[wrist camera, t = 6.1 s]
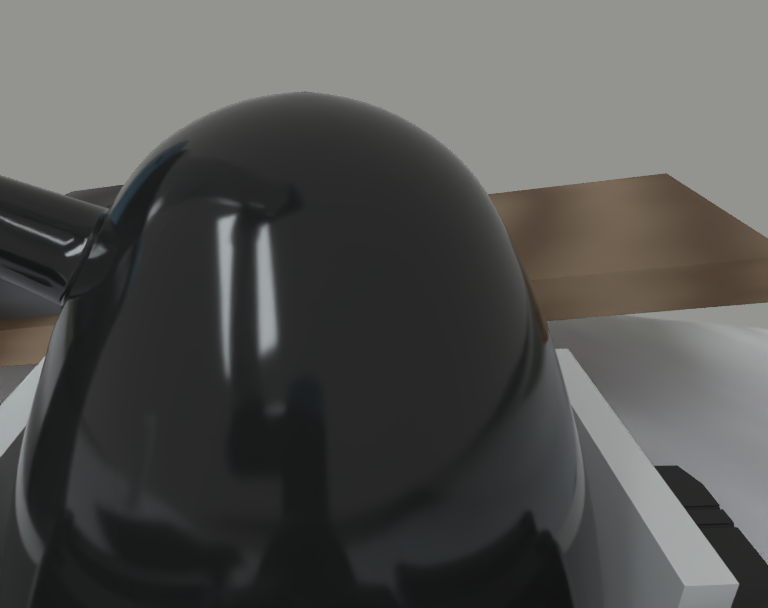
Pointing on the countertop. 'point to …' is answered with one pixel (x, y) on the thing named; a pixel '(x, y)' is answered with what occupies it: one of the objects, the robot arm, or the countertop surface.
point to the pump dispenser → (292, 381)
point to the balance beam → (553, 256)
